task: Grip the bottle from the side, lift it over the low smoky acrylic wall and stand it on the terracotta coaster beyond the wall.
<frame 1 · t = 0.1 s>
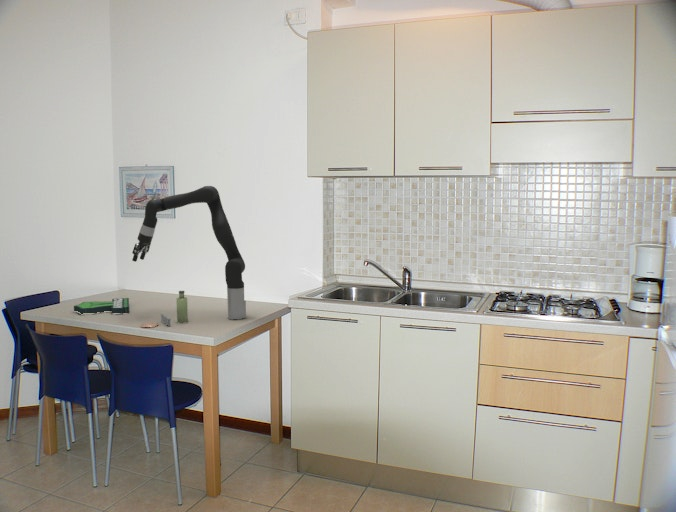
hand: (137, 260, 318), 31 cm above the table, tool tilted 20°, fingers open, 8 cm apart
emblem: (102, 311, 333), on the table
bottle: (182, 321, 305), on the table
coaster: (149, 325, 296), on the table
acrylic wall: (165, 323, 300), on the table
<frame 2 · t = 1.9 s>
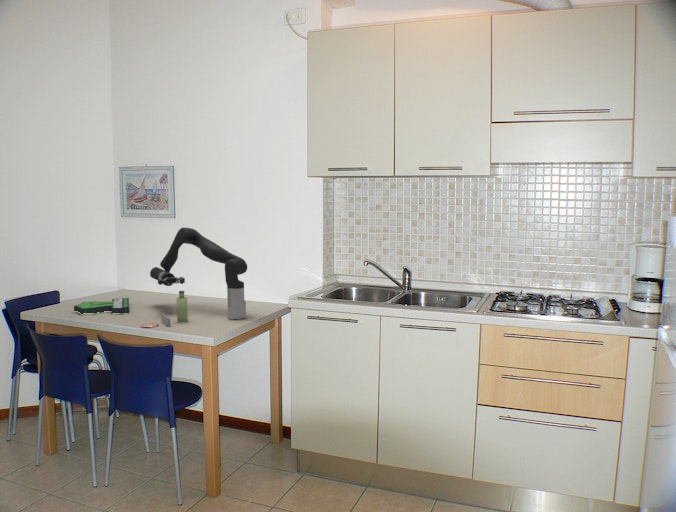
hand: (174, 282, 313), 20 cm above the table, tool horizontal, fingers open, 8 cm apart
nothing on the table moved.
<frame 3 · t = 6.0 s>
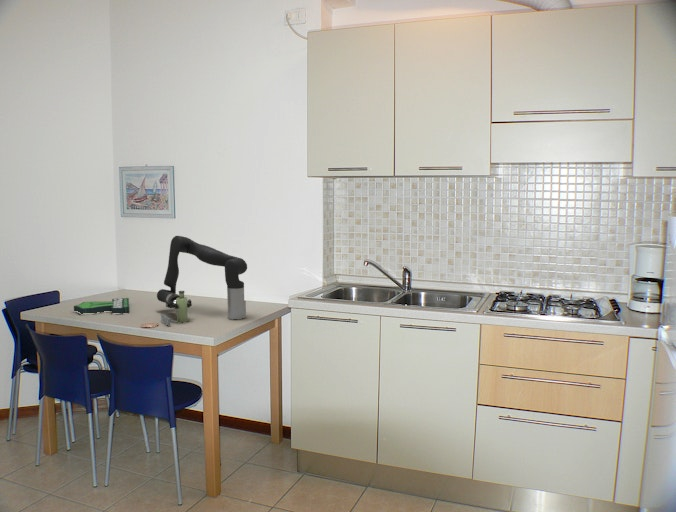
hand: (183, 306, 302), 9 cm above the table, tool horizontal, fingers closed on bottle, 5 cm apart
bottle: (182, 321, 305), on the table, touching gripper
everything else where it was.
when the fingers open (10 cm above the table, at t = 11.0 s): bottle stays where it is, resting on coaster.
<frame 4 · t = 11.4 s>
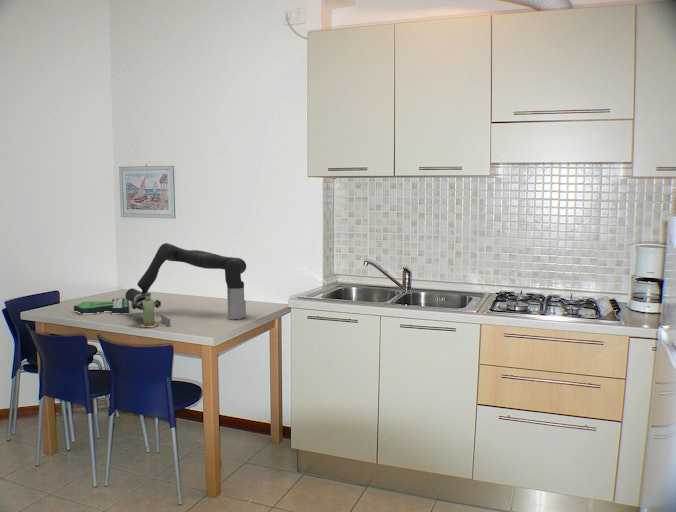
hand: (149, 307, 293), 10 cm above the table, tool horizontal, fingers open, 8 cm apart
bottle: (149, 324, 296), point 1 cm above the table, touching coaster
everything else where it was.
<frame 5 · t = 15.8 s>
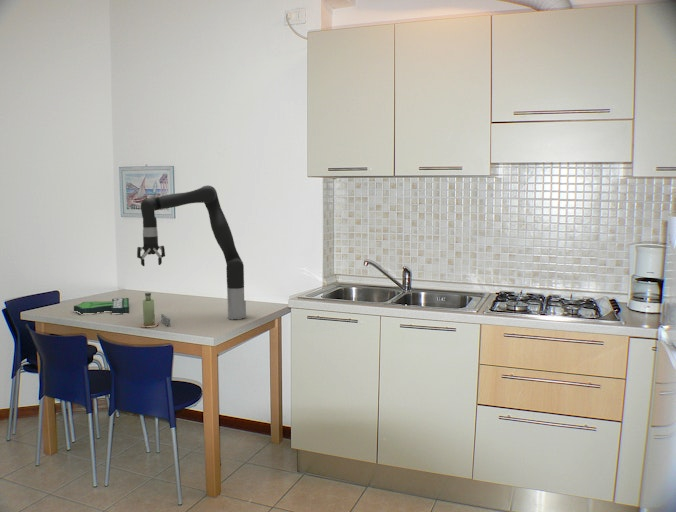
hand: (151, 265, 306), 30 cm above the table, tool pointing down, fingers open, 8 cm apart
nothing on the table moved.
at the end: bottle inside the target area on the coaster (0.1 cm from its centre), point 0.6 cm above the coaster's base; bottle tilted 0°; the gripper is holding nothing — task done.
